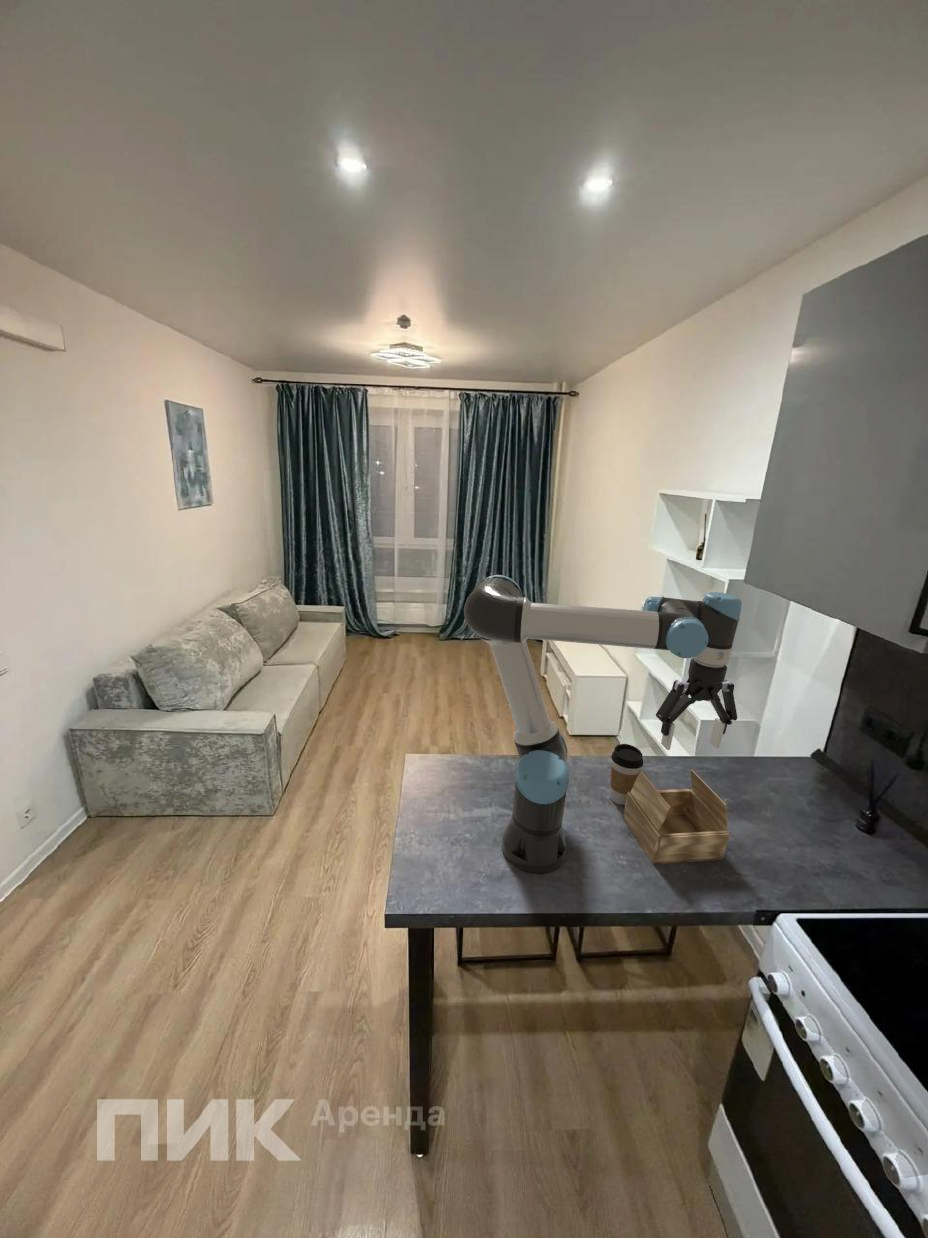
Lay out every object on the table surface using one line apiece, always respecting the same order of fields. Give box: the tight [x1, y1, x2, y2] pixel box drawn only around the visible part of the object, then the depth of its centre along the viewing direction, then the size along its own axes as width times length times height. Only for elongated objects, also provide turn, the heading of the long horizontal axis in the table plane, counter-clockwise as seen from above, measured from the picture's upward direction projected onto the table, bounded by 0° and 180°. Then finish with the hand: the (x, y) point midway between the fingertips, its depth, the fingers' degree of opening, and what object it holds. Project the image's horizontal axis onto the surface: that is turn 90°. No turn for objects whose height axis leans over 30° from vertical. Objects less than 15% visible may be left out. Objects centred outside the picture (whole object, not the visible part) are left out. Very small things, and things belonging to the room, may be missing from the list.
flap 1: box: [630, 771, 671, 831], centre depth 121 cm, size 1×14×6 cm, turn 9°
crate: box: [622, 788, 731, 865], centre depth 124 cm, size 18×17×8 cm
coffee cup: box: [609, 743, 644, 806], centre depth 138 cm, size 8×8×15 cm
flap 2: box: [690, 768, 728, 828], centre depth 123 cm, size 1×14×6 cm, turn 8°
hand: (689, 746), depth 118 cm, fingers open, 12 cm apart
